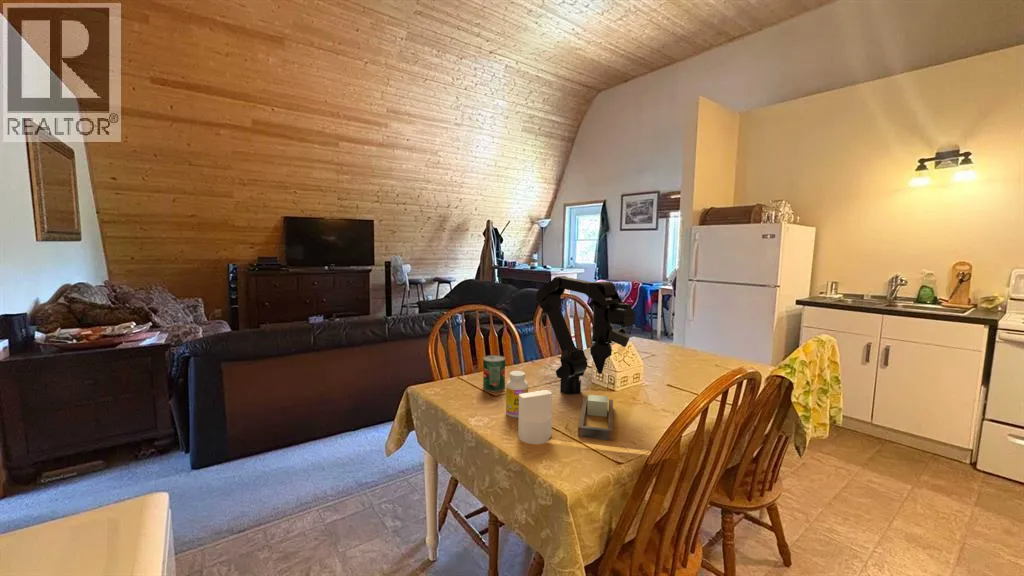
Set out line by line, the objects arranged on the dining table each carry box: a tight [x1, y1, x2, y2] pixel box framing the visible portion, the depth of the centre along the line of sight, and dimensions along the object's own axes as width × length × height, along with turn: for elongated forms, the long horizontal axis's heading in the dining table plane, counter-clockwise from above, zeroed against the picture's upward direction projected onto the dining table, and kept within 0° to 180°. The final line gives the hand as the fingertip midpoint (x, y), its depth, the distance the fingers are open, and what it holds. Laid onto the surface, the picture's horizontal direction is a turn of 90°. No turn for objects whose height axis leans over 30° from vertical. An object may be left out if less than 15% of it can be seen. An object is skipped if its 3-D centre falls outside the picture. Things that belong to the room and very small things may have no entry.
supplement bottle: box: [505, 370, 529, 419], centre depth 127 cm, size 7×7×13 cm
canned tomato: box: [482, 354, 506, 393], centre depth 150 cm, size 8×8×11 cm
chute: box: [577, 396, 614, 442], centre depth 121 cm, size 9×22×4 cm, turn 166°
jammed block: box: [586, 394, 609, 418], centre depth 127 cm, size 6×5×4 cm
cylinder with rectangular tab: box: [517, 389, 553, 445], centre depth 113 cm, size 9×9×12 cm
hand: (600, 369), depth 134 cm, fingers open, 8 cm apart
